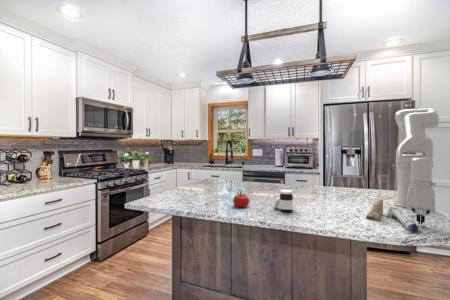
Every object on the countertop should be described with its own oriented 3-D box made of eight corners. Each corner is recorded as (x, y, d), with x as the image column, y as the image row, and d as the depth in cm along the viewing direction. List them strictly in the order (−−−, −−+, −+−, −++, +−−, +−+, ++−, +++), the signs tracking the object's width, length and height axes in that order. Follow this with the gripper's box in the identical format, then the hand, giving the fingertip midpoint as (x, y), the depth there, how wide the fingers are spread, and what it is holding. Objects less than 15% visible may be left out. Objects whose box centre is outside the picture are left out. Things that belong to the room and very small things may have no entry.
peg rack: (371, 211, 136) (371, 197, 135) (383, 213, 132) (383, 199, 132) (366, 218, 123) (366, 203, 123) (378, 220, 120) (378, 204, 120)
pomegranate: (251, 208, 147) (251, 193, 147) (236, 209, 144) (236, 193, 144) (245, 203, 156) (245, 189, 156) (231, 204, 154) (231, 190, 153)
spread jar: (293, 213, 134) (293, 192, 134) (272, 212, 137) (272, 191, 137) (292, 207, 146) (292, 188, 146) (273, 206, 149) (273, 188, 148)
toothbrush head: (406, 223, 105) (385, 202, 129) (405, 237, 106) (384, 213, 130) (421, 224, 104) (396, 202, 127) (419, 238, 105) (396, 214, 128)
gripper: (442, 184, 109) (441, 224, 110) (401, 181, 119) (401, 218, 119) (443, 187, 104) (442, 229, 104) (400, 183, 113) (400, 222, 114)
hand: (420, 223), depth 112 cm, fingers closed
